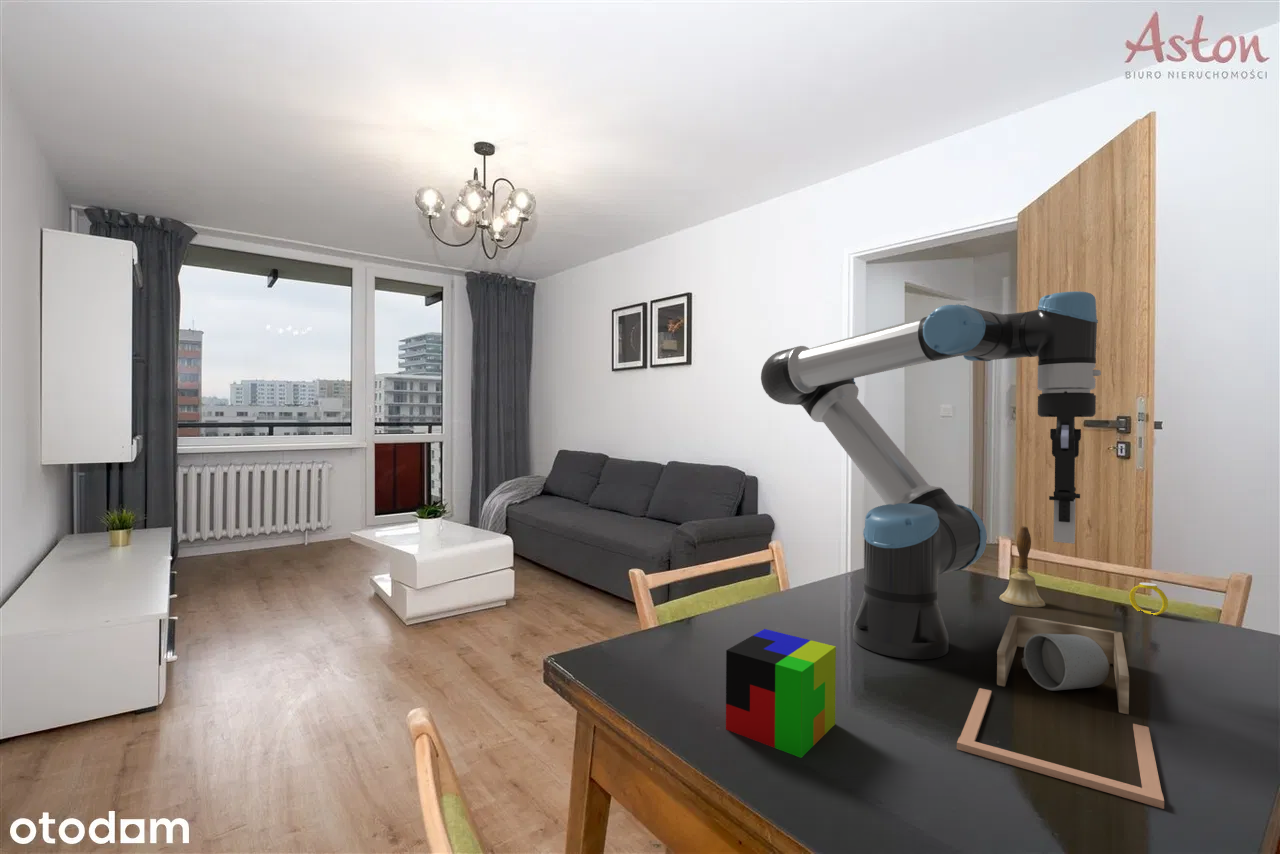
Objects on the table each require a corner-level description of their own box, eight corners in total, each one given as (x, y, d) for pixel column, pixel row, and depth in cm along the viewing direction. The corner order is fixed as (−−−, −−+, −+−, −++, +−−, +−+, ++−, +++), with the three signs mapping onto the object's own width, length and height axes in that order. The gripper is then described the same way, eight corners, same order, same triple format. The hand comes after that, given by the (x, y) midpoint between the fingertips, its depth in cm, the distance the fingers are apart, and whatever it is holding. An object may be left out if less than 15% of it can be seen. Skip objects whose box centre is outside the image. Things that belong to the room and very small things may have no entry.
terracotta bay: (956, 749, 72) (956, 742, 72) (979, 691, 87) (979, 685, 87) (1163, 809, 61) (1164, 801, 61) (1148, 731, 76) (1148, 724, 76)
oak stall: (996, 684, 89) (997, 650, 89) (1010, 643, 106) (1011, 614, 105) (1128, 714, 80) (1129, 676, 80) (1121, 663, 97) (1121, 632, 97)
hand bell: (1044, 599, 131) (1045, 525, 131) (1046, 610, 124) (1047, 531, 124) (999, 593, 135) (1000, 522, 135) (998, 603, 128) (999, 527, 128)
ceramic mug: (1115, 695, 86) (1115, 640, 86) (1066, 700, 84) (1066, 644, 84) (1050, 666, 96) (1050, 617, 96) (1005, 670, 95) (1005, 620, 95)
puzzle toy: (764, 701, 84) (764, 628, 84) (835, 724, 78) (835, 646, 77) (725, 729, 76) (726, 650, 76) (801, 758, 70) (801, 671, 70)
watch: (1127, 611, 124) (1125, 581, 124) (1135, 609, 125) (1133, 580, 126) (1163, 618, 119) (1161, 587, 119) (1170, 616, 120) (1168, 585, 120)
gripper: (1096, 389, 88) (1094, 552, 88) (1095, 393, 100) (1093, 535, 101) (1034, 390, 92) (1032, 545, 93) (1040, 394, 105) (1039, 530, 105)
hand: (1064, 540), depth 97 cm, fingers open, 3 cm apart
